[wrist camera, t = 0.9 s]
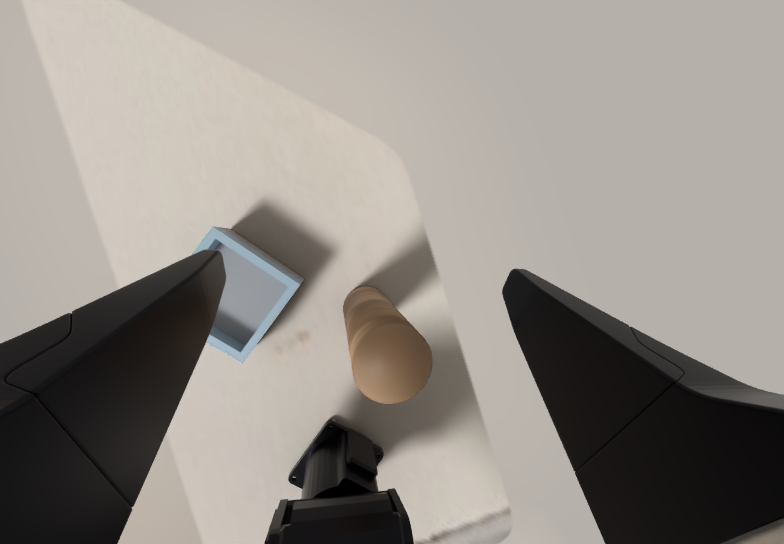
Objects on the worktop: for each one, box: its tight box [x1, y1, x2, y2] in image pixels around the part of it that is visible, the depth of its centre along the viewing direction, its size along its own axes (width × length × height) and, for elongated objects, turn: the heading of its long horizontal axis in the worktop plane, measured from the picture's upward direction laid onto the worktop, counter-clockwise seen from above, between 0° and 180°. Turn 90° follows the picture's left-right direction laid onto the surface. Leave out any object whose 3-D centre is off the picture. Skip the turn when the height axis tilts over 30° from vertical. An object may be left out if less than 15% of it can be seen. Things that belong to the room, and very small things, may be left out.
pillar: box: [343, 286, 432, 404], centre depth 21 cm, size 4×4×13 cm
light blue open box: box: [192, 227, 304, 363], centre depth 24 cm, size 7×7×4 cm
